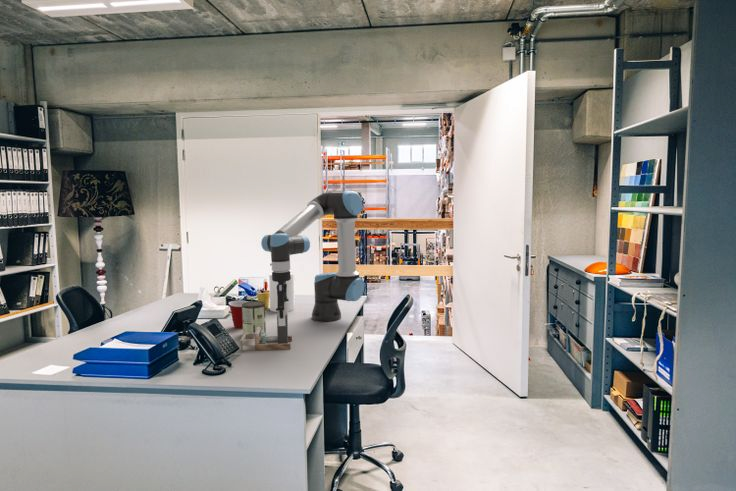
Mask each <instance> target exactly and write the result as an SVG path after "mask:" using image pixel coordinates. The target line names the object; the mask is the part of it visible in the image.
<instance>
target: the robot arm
mask: <svg viewBox="0 0 736 491" xmlns="http://www.w3.org/2000/svg"><path fill="white" fill-rule="evenodd" d="M362 210H363V201H362V197H361V196H360V195H359V193H358V192H357V191H354V190H329V191H326V192H325V191H324V192H323V193H321V194H319V195H318V196H316V197H314V198H313V199H312V200H311V201H309V202H308V203H307V205H306V207H305V208H304V209H302V211H300V212H299V213H298V214H297V215H295V216H294V217H293V218H292V219H291V220H289V221H288V222H286V224H284V225H283V226H282V227H281V228H279V229H278V230H276V231H275V232H274V233H272V234H266V235H264V236H263V237H262V239H261V243H260V244H261V248H262V249H263V251H265V252H267V253H268V252H269V253H270V256H271V263H270V264H269V265H270V267H271V271H272V272H271V273H272V280H273V281H275V282H278V284H277V296H278V308H276V311H278V312H277V316H278V324H279V326H285V315H287V318H288V317H289V316H288V312H287V302H286V301H289V300H288V299H287V284H286V281H289V280H290V279H291V276H290V272H291V271H290V270H291V256H292V255H298V254H304V253H306V252H308V251H309V249H310V247H311V242H310V239H309V237H307V236H306V235H301V233H302V232H304V231H305V230H307V228H308V227H309V226H311V225H312V224H313V223H314V222H315V221H316V220H320V219H322V218H323V217H325V216H329V215H331V216H332V215H333V220H334V221H335V222H336V230H337V232H336V233H337V257H338V258H337V260H338V262H337V263H338V264H337V266H338V271H337V272H325V273H319V274H316V275H315V277H314V283H313V284H314V304H313V308H312V312H311V319H312V320H314V321H316V322H317V321H318V322H330V321H331V322H333V321H337V320H341V318H342V312H341V309H340V306H339V302H338V301H346V302H356V301H359V300H360V299H361V298H362V296H363V294H364V292H365V282H364V280H363V278H361V277H360V272H359V271H358V270H357V263H356V262H357V259H356V257H357V256H356V255H357V254H356V221H357V220H358V218H359V217H358V216H359V215H361V213H362Z"/></svg>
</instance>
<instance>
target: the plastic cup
mask: <svg viewBox="0 0 736 491" xmlns="http://www.w3.org/2000/svg"><path fill="white" fill-rule="evenodd" d="M246 302H249V301H246V300H231V301H229V302H228V305H229V309H230V313H231V318H232V322H233V326H234V329H238V330H239V329H243V316H242V304H243V303H246Z"/></svg>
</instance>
